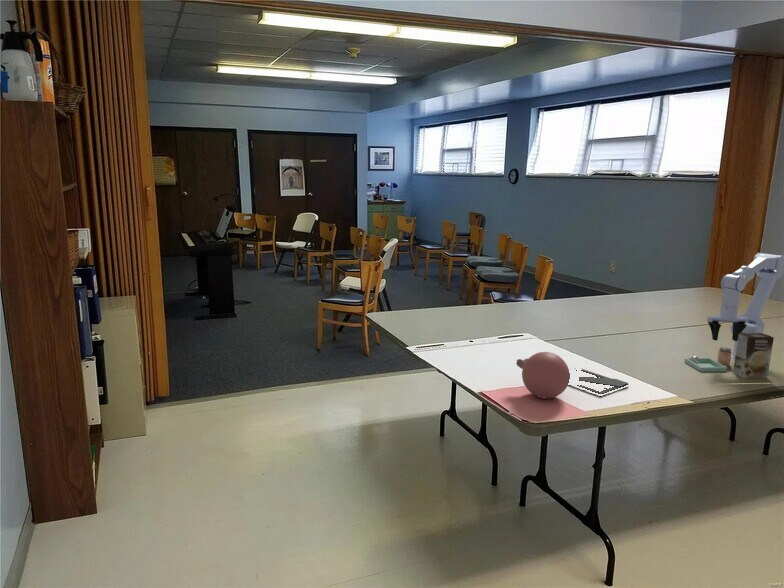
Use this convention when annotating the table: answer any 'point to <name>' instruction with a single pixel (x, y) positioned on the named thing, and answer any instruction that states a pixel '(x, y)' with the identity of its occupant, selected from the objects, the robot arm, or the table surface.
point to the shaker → (724, 356)
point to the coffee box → (753, 355)
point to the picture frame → (602, 382)
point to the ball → (694, 359)
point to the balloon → (544, 374)
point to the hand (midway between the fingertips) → (724, 340)
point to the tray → (706, 365)
